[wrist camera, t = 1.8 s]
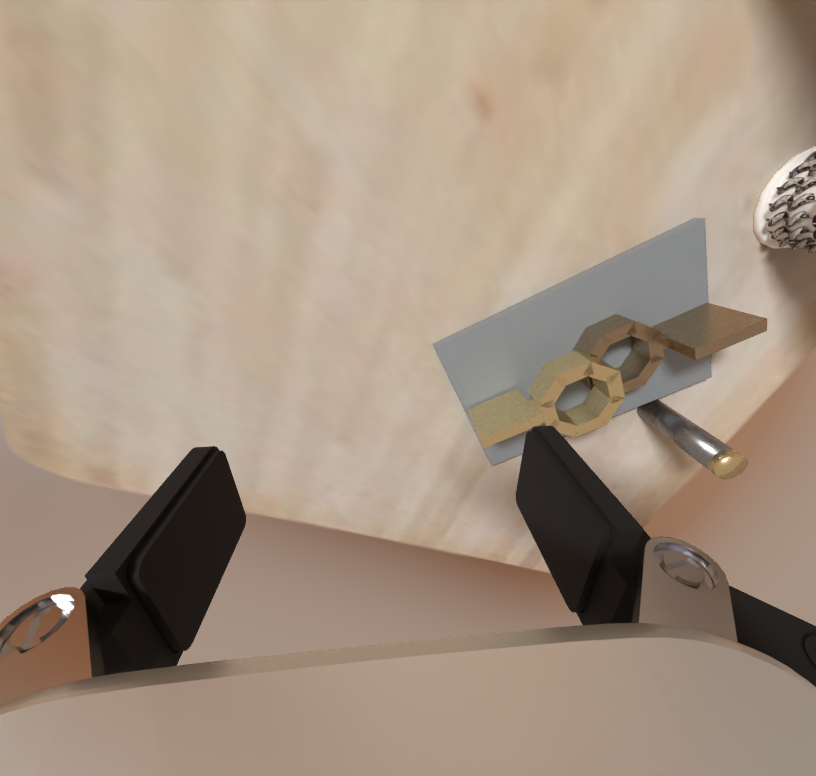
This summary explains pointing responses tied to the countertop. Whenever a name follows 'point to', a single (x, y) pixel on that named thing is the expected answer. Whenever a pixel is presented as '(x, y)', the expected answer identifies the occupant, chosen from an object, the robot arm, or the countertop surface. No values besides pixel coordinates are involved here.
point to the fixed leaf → (667, 339)
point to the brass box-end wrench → (552, 401)
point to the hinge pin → (694, 440)
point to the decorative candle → (789, 206)
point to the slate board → (569, 316)
